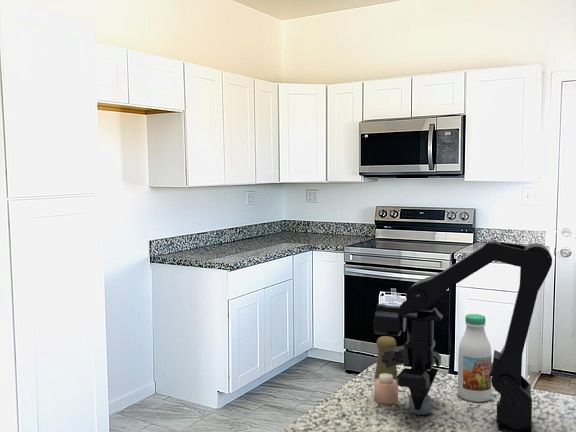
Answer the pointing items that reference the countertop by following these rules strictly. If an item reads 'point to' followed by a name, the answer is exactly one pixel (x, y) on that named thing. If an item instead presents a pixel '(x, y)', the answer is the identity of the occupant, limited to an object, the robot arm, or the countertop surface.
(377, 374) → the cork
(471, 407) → the countertop surface
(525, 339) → the robot arm
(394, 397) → the jar
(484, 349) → the milk bottle
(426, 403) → the cap
